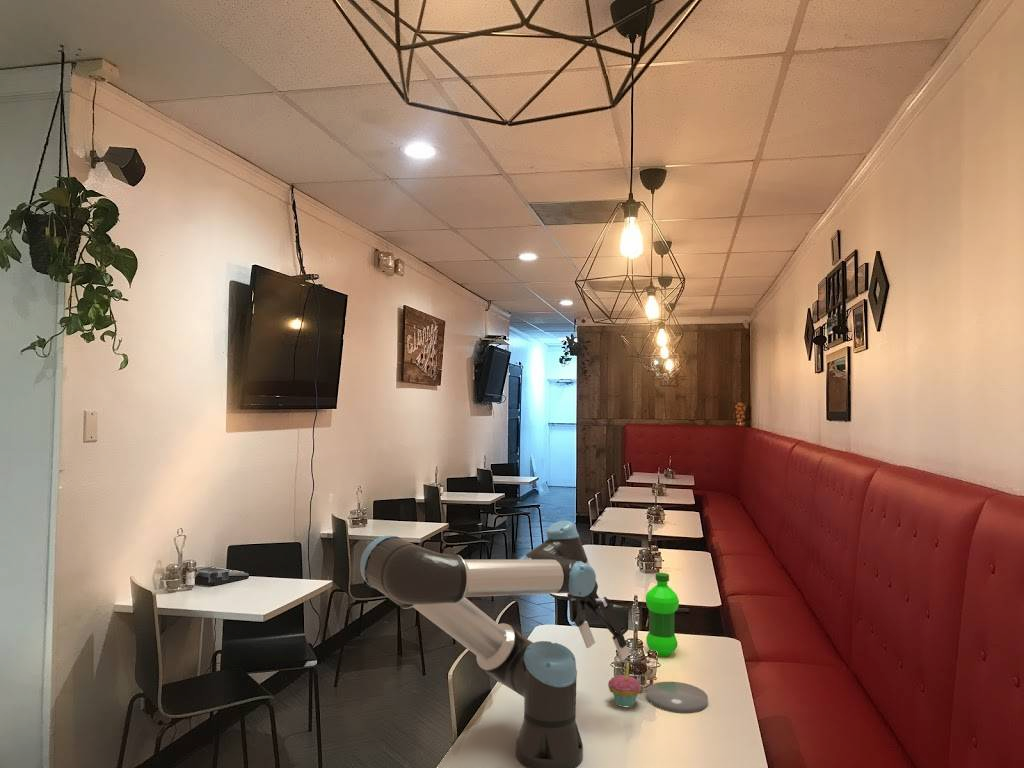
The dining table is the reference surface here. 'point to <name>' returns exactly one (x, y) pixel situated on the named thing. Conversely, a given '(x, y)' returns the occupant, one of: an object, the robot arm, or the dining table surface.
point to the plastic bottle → (662, 616)
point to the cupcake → (624, 688)
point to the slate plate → (677, 697)
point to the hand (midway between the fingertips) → (607, 651)
